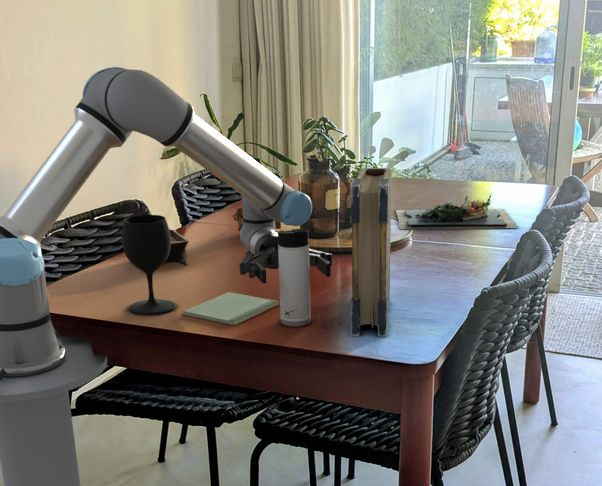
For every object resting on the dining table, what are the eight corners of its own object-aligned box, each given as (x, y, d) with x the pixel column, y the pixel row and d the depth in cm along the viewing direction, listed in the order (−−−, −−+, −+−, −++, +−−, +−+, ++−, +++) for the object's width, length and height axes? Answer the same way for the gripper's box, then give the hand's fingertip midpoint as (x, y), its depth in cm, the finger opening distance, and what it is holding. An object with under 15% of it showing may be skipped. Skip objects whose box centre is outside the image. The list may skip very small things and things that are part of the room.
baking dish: (183, 259, 237) (177, 223, 235) (195, 265, 221) (188, 226, 218) (131, 269, 234) (124, 232, 231) (139, 276, 217) (131, 236, 215)
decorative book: (386, 336, 171) (388, 185, 160) (350, 335, 172) (350, 185, 161) (391, 300, 193) (393, 164, 182) (359, 299, 194) (359, 164, 183)
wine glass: (119, 312, 189) (110, 222, 182) (146, 298, 198) (138, 212, 191) (158, 317, 185) (151, 225, 178) (185, 303, 194) (178, 215, 187)
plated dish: (502, 208, 281) (503, 186, 278) (519, 229, 255) (520, 205, 252) (394, 211, 283) (394, 189, 280) (400, 232, 257) (400, 208, 254)
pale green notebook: (234, 325, 179) (234, 320, 179) (183, 314, 187) (183, 310, 186) (278, 304, 192) (278, 300, 191) (228, 295, 199) (228, 291, 199)
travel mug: (288, 329, 176) (285, 233, 169) (276, 320, 182) (272, 226, 175) (316, 324, 179) (314, 229, 172) (303, 315, 184) (300, 223, 177)
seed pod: (214, 217, 247) (260, 203, 241) (230, 194, 260) (274, 180, 254) (233, 256, 253) (278, 243, 247) (247, 232, 266) (291, 219, 260)
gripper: (322, 260, 199) (354, 285, 180) (216, 270, 192) (237, 297, 173) (322, 228, 196) (354, 250, 177) (214, 237, 190) (236, 261, 171)
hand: (296, 273), depth 175 cm, fingers open, 13 cm apart
